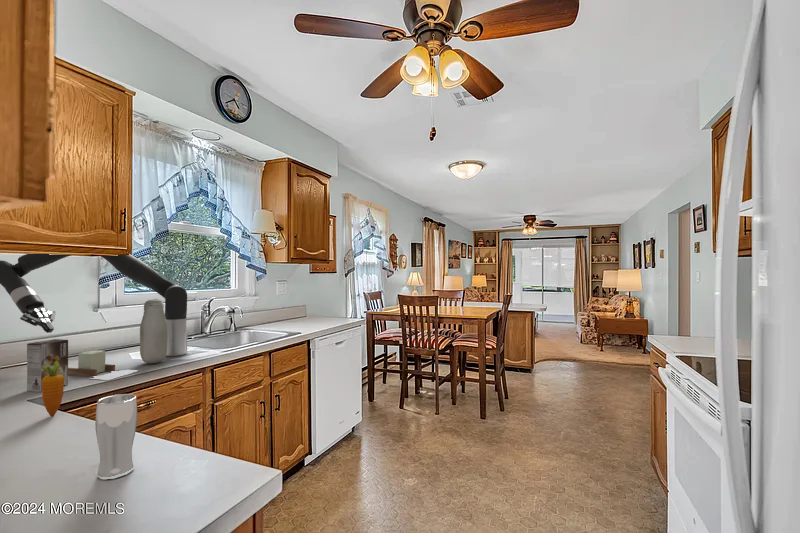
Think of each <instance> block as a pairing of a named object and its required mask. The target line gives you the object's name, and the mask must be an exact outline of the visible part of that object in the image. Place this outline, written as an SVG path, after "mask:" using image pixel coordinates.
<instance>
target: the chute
mask: <svg viewBox="0 0 800 533" xmlns="http://www.w3.org/2000/svg"><path fill="white" fill-rule="evenodd" d="M109 371H116V364H109V363H108V364H106V363H105V371H104V372H109ZM74 375H81V376H80V377H89V376H98V373H97V369H81V368H78V367H77V368H76V367H68V376H74Z"/></svg>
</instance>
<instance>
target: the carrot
mask: <svg viewBox="0 0 800 533" xmlns="http://www.w3.org/2000/svg"><path fill="white" fill-rule="evenodd" d="M59 366H60V365H59V362H57V361H55V362H54V369H53V371H52V369H51V368H50V366H46V367H43V368H42V369H45V370H46V371H47V372H48V373H49V376H46V377H44V378H43V379H42V392H41V397H42V402H43V405H44V408H45V410H46V412H47V413H48V415H49V416H50V417H54V416H55V415H56V414H57V412H58V410H59V408H60V407H61V404H62V401H63V396H64V390H65V386H64V377H63V376H62V375H56V374H57V370H58V368H59Z"/></svg>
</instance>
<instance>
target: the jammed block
mask: <svg viewBox="0 0 800 533" xmlns="http://www.w3.org/2000/svg"><path fill="white" fill-rule="evenodd" d="M77 358H78V363H77V364H78V365H77V366H78V367H77V368H81V369H97V374H99V373H103V372H106V371H105V364H106V350H94V349H93V350H92V349H91V350H88V351H84V352H83V351H82V352H79V353H78V357H77Z"/></svg>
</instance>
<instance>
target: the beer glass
mask: <svg viewBox="0 0 800 533" xmlns="http://www.w3.org/2000/svg"><path fill="white" fill-rule="evenodd" d="M96 403H97V404H96V410H95V411H96V412H95V422H94V423H95V426H94V427H95V436H96V440H97V446H98V451H99V466H98V471H97V475H98V476H100V477H111V476H115V475H118V474H122V473H125V472H127V471H129V470H131V469H132V468H133V467H134V468H135V466H134V461H133V454H132V453H133V451H132V450H133V444H134V440H135V435H136V432H137V431H136V430H137V423H138V403H137V395H136V394H133V393H121V394H114V395H113V394H112V395H108V396H105V397H102V398H100V399H98V400H97V401H96ZM97 475H96V476H97Z"/></svg>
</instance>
